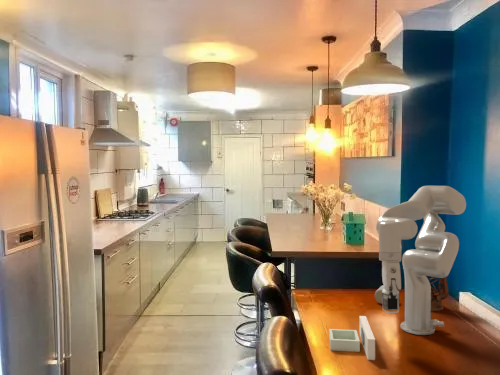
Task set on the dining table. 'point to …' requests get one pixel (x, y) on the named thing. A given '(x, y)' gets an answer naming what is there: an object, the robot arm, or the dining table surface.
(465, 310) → the dining table surface
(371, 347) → the board
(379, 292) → the ceramic mug
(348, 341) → the pale green square tray
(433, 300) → the lantern
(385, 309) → the pill bottle
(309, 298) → the dining table surface
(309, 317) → the dining table surface
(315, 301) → the dining table surface
